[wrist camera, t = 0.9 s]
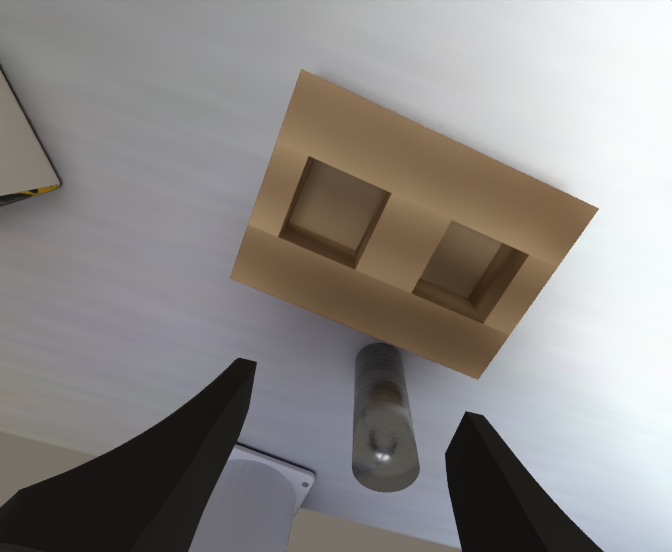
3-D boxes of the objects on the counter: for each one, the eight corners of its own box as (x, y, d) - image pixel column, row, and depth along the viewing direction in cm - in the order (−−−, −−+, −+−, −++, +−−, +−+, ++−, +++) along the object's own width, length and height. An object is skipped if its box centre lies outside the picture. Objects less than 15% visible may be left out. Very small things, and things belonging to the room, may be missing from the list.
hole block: (462, 344, 24) (477, 379, 20) (248, 255, 22) (229, 278, 19) (560, 194, 20) (599, 208, 17) (311, 78, 19) (301, 68, 15)
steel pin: (389, 389, 25) (400, 500, 18) (347, 372, 25) (341, 478, 17) (410, 354, 24) (432, 457, 17) (367, 336, 24) (369, 433, 16)
